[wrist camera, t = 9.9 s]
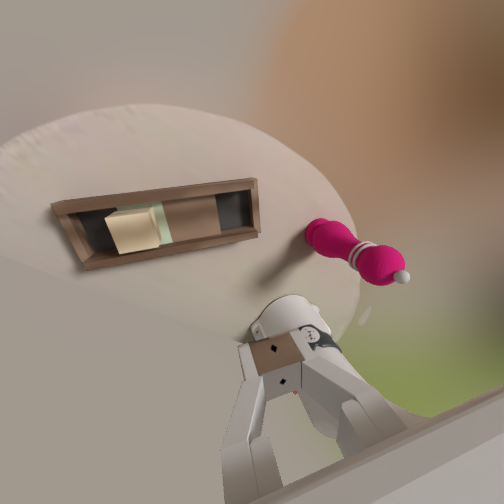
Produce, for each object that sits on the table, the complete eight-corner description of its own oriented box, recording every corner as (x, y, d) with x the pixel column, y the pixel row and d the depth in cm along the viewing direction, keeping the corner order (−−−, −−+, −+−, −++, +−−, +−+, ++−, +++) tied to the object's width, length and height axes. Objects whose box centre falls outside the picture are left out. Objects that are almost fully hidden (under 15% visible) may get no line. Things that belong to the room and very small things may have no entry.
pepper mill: (336, 217, 42) (440, 256, 25) (325, 248, 45) (413, 302, 27) (308, 213, 40) (401, 253, 22) (298, 246, 42) (376, 304, 25)
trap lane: (256, 228, 38) (264, 236, 34) (90, 259, 31) (77, 272, 28) (252, 177, 34) (261, 179, 30) (61, 200, 27) (39, 206, 23)
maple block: (161, 237, 31) (158, 247, 27) (127, 243, 30) (119, 254, 26) (152, 206, 29) (147, 212, 25) (114, 211, 28) (104, 218, 24)
